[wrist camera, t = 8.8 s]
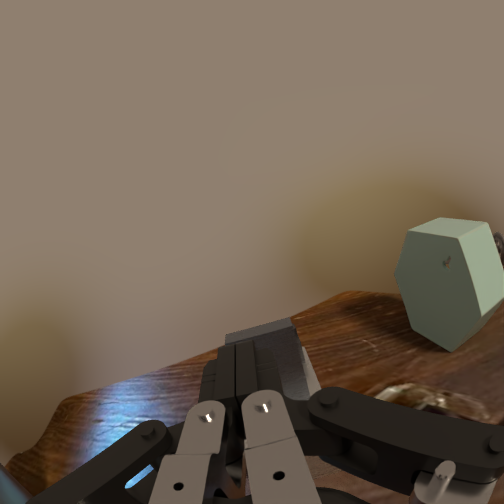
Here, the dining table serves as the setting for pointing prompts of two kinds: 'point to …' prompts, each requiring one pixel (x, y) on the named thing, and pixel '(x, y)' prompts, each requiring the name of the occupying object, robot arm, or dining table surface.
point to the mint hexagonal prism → (450, 279)
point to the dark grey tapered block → (278, 353)
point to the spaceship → (498, 237)
